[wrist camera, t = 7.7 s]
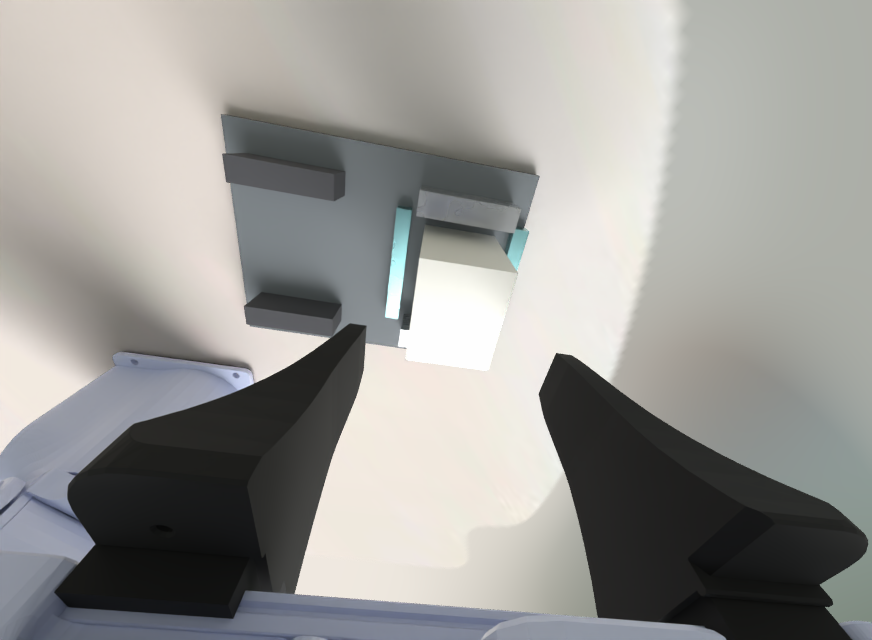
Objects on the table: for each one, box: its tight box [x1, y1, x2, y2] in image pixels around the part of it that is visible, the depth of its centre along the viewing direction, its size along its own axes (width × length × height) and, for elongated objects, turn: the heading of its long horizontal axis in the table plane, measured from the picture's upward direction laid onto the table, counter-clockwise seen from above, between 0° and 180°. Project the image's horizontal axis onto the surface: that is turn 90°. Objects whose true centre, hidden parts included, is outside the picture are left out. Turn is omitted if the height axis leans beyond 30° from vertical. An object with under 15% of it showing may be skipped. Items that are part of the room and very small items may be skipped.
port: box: [385, 186, 529, 347], centre depth 18 cm, size 7×9×2 cm
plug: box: [405, 225, 518, 371], centre depth 16 cm, size 4×5×6 cm
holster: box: [222, 153, 346, 337], centre depth 17 cm, size 5×9×2 cm, turn 170°
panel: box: [221, 114, 540, 349], centre depth 19 cm, size 16×12×1 cm
